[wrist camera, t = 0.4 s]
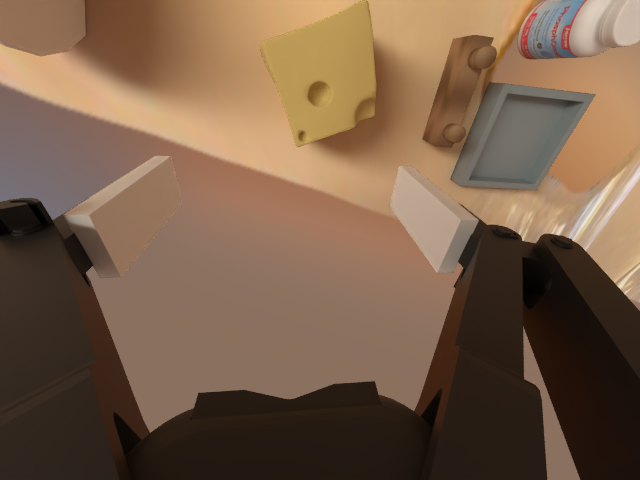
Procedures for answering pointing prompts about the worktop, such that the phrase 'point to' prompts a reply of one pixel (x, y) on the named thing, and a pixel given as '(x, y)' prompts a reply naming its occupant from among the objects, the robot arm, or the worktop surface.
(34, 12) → the soap bottle
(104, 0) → the worktop surface
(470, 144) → the tray
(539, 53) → the pill bottle
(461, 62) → the stop rail
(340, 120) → the cheese
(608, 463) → the robot arm
